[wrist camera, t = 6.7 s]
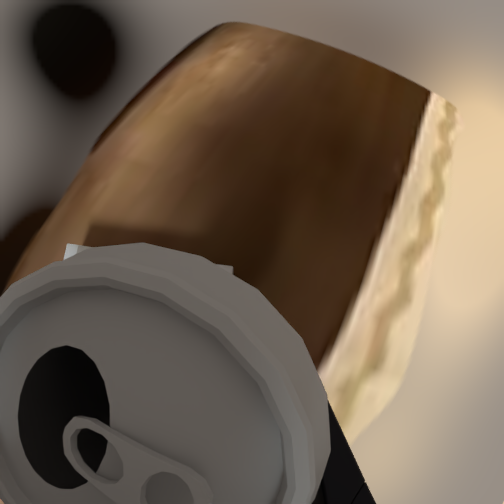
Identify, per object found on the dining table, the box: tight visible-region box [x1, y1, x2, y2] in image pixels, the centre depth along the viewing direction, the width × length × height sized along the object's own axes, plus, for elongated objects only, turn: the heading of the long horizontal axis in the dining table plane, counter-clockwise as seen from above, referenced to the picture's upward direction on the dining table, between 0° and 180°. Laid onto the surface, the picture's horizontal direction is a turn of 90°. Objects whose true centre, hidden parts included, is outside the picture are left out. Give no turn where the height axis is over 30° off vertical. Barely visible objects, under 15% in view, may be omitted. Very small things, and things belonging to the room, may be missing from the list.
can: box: [0, 243, 331, 504], centre depth 9 cm, size 8×8×12 cm
